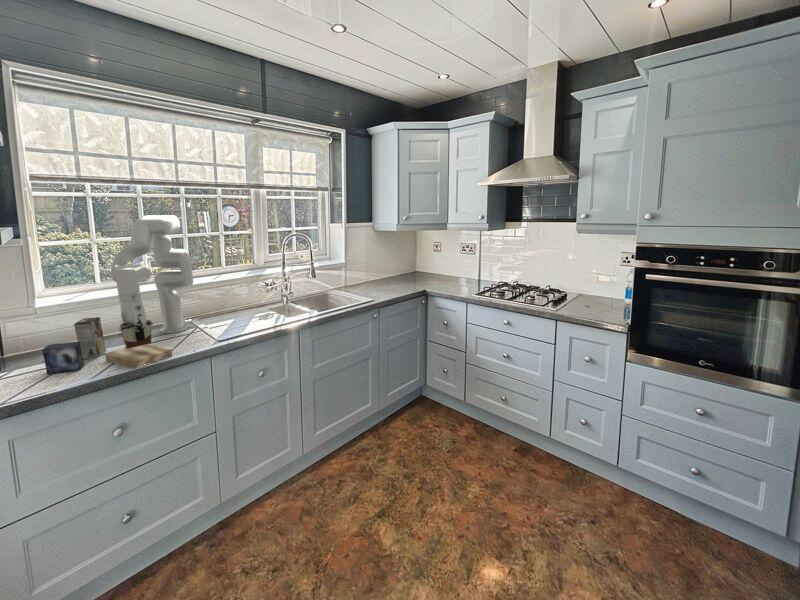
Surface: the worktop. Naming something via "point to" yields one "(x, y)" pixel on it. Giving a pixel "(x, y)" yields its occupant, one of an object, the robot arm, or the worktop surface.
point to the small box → (63, 357)
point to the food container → (130, 335)
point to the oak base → (138, 355)
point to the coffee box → (90, 337)
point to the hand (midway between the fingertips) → (136, 338)
